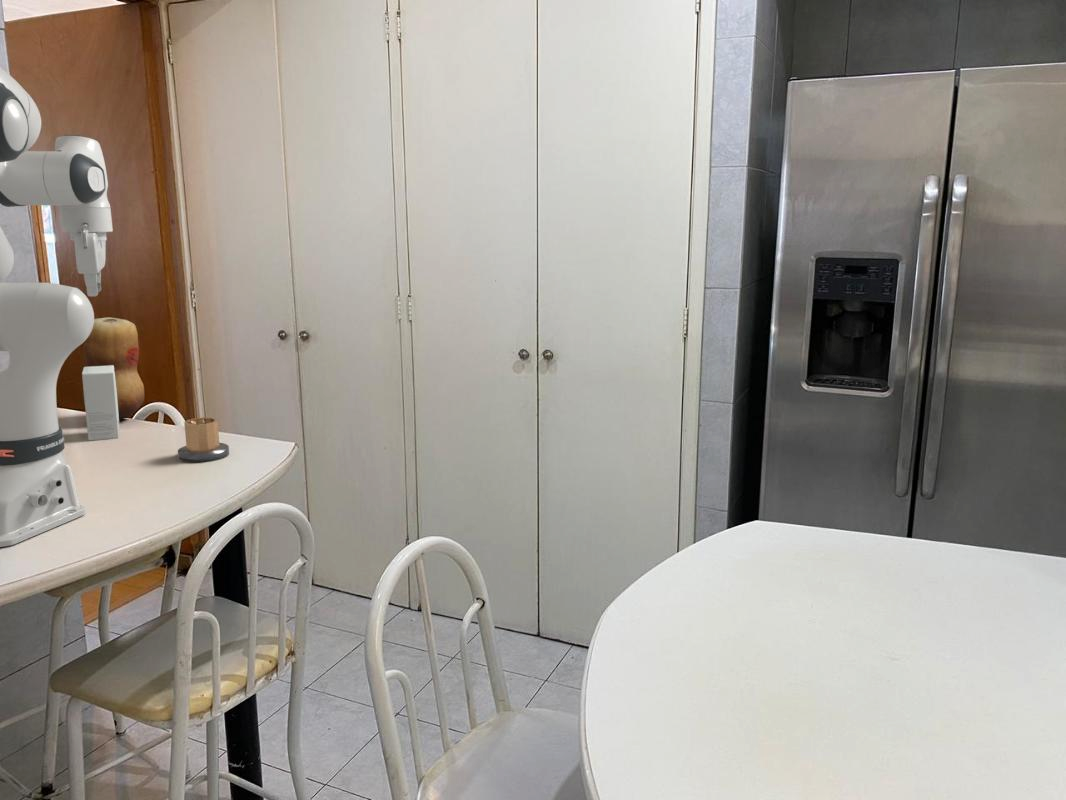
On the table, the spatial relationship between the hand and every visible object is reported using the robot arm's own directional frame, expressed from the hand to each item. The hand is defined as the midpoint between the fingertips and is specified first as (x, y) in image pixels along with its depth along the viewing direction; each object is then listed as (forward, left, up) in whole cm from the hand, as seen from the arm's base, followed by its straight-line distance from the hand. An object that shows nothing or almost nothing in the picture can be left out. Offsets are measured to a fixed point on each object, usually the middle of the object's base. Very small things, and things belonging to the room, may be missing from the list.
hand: (94, 293), depth 164 cm
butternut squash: (+30, +18, -34) cm, 49 cm away
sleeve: (+4, -18, -33) cm, 37 cm away
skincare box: (+16, +12, -34) cm, 40 cm away
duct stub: (+4, -18, -34) cm, 39 cm away
